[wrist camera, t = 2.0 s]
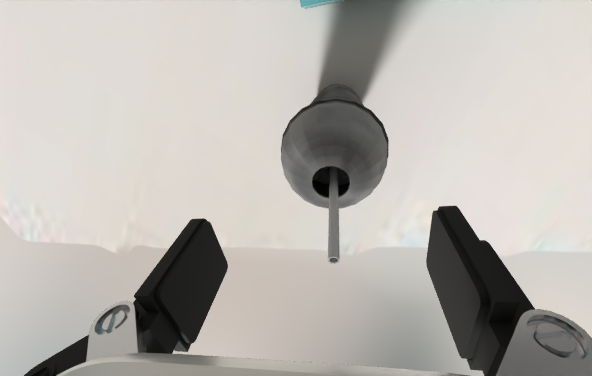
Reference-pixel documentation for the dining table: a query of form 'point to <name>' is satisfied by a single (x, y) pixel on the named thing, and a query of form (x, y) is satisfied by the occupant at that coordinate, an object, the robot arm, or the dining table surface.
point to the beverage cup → (334, 154)
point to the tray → (316, 3)
